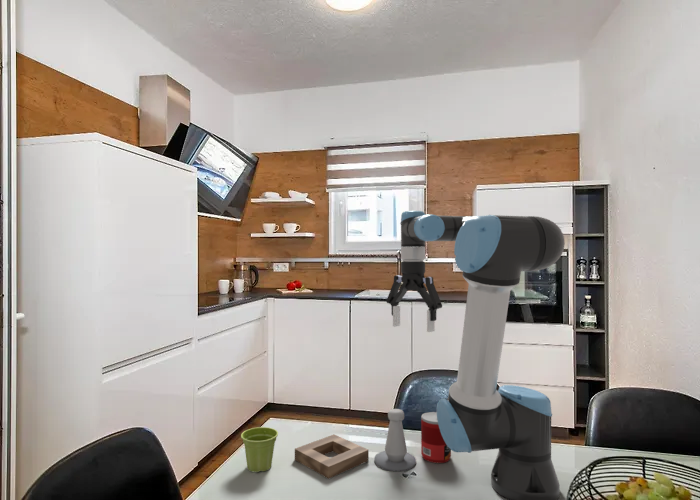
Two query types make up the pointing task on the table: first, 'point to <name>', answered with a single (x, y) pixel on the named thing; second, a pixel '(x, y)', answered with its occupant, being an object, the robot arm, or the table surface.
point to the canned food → (433, 440)
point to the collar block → (330, 467)
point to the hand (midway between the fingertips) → (413, 328)
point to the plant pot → (259, 447)
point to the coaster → (386, 464)
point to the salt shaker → (395, 437)
